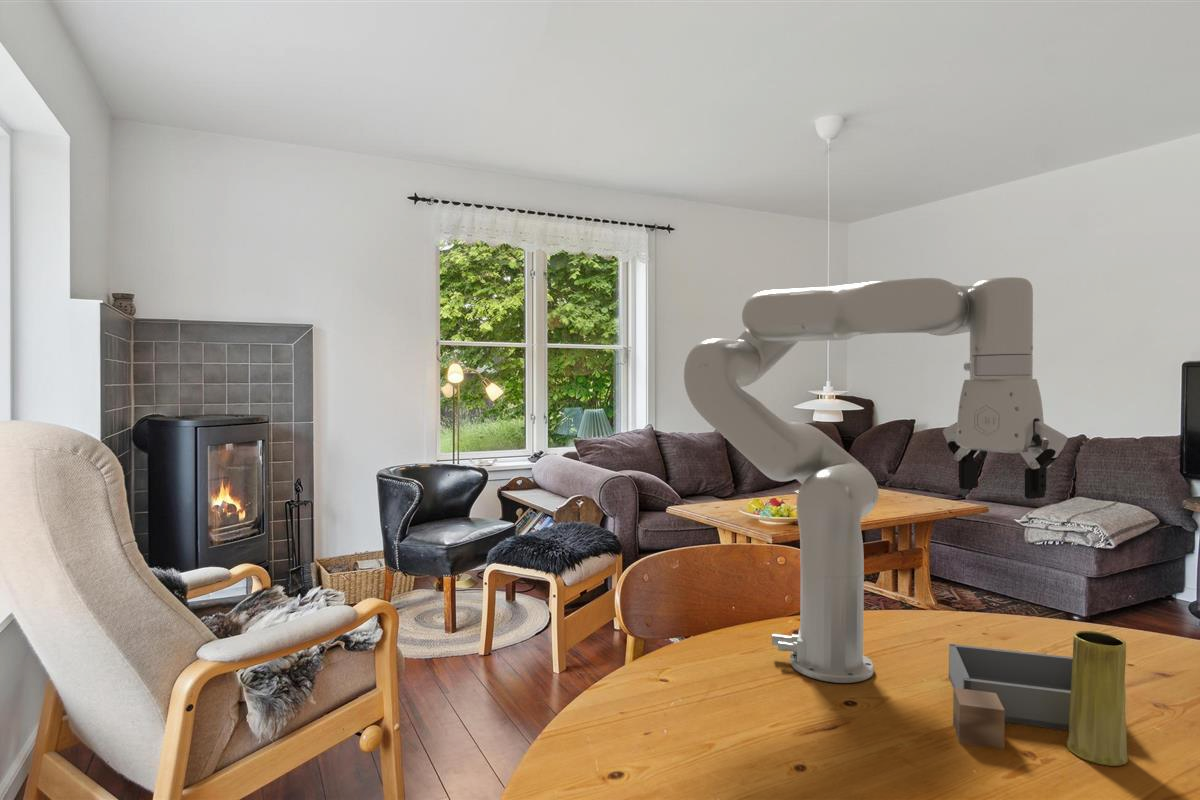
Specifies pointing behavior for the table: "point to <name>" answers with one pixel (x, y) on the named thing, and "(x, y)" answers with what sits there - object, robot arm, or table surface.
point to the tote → (1017, 682)
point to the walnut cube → (978, 718)
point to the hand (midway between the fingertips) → (1000, 492)
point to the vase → (1098, 699)
